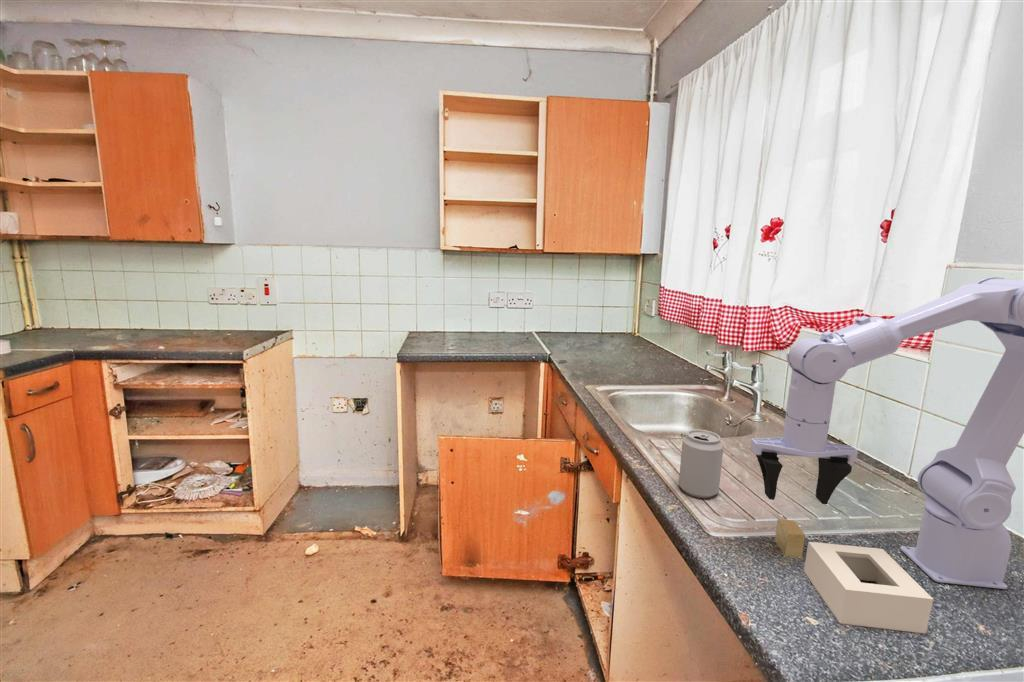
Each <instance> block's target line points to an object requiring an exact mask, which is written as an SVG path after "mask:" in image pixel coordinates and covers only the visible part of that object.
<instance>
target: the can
mask: <svg viewBox="0 0 1024 682" xmlns="http://www.w3.org/2000/svg"><path fill="white" fill-rule="evenodd" d="M721 439H722V438H721V436H720V435H719V434H718V433H716V432H713V431H710V430H705V429H699V428H697V429H696V428H695V429H690V430H688V431H686V435H685V436H684V437H683V438H682V443H681V452H680V453H681V455H680V466H679V473H678V474H679V476H678V485H679V487H680V488H681V489H682V490H683V492H685V494H686V495H689V496H691V497H694V498H699V499H709V498H712V497H713V496H715V495H717V494H718V493H719V491H720V483H721V474H722V464H723V455H724V448H725V447H724V443H722V441H721Z"/></svg>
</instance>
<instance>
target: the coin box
mask: <svg viewBox="0 0 1024 682" xmlns="http://www.w3.org/2000/svg"><path fill="white" fill-rule="evenodd" d="M805 556H806V557H805V562H804V568H803V572H804V574H805V575H806V577H807V578H808V580H809V581H810V583H812V585H813V587H814V588H815V589H816V591H817V593H818V594H819V596H820V597H821V599H822V600H823V601H824V602H825V604H826V606H827V607H828V609H829V610H830V611H831V613H832V614H833V616H834V618H836V620H837V621H838V622H839V624H840V625H841V624H843V625H850V626H861V627H868V628H873V629H874V628H876V629H885V630H894V631H901V632H909V633H917V634H927V631H928V626H929V621H930V615H931V613H932V608H933V602H934V598H933V597H932V596H931V595H930V593H928V592H927V591H926V590H925V589H924V588H923V587H922V586H921V585H920V584H919V583H917V581H916V580H915V579H914V578H913V577H911V575H910V574H909V573H908V572H907V571H906V570H904V569H903V567H902V566H900V564H899V563H898V562H896V561H895V559H894V558H893V557H891V556H890V555H889V554H888V552H886V550H885V549H883V548H876V547H869V546H867V547H866V546H858V545H849V544H848V545H845V544H838V543H837V544H835V543H827V542H826V543H825V542H818V541H816V542H815V541H808V542H807V549H806V555H805ZM861 581H865V582H861ZM866 581H868V582H875V583H868V582H866Z"/></svg>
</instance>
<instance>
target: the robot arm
mask: <svg viewBox="0 0 1024 682" xmlns="http://www.w3.org/2000/svg"><path fill="white" fill-rule="evenodd" d="M854 321H855V323H853V324H851V325H847V326H845V327H843V328H840V329H837V330H835V331H829V330H827V331H824V332H822V333H821V337H820V338H813V337H806V338H802V339H800V340H798V341H797V342H795V343H794V346H792V347H791V348H790V351H789V352H787V353H786V355H785V357H786V362H787V364H788V366H789V368H791V376H790V377H791V378H790V383H789V387H788V394H787V395H788V396H787V402H786V410H785V418H784V424H783V425H784V426H783V432H782V436H781V437H780V436H779V437H766V438H763V437H762V438H755V437H754V438H750V439H751V440H750V446H749V447H750V448H749V450H750V451H751V453H752V454H753V455H755V457H756V459H757V462H758V464H759V468H760V471H761V474H762V480H763V485H764V494H765V495H766V497H767V498H768V500H773V501H775V498H776V495H777V488H778V486H777V485H778V480H779V476H780V474H781V471H782V468H783V467H784V466H783V465H784V464H782V463H781V462H780V461H779V460H780V459H779V457H778V456H779V455H780V456H790V457H803V458H805V457H806V458H816V459H817V460H818V476H817V483H816V488H815V499H817V500H818V501H819V503H821V505H827V504H828V502H829V501H830V500H831V499H830V498H831V496H832V495H833V493H834V491H835V490H836V488H837V487H838V485H839V484H840V483H841V482H842V481H843V480H844V479H845V478H846V477H847V476H848V475H850V474H851V472H852V468H853V466H852V465H851V464H850V463H857V458H858V452H859V450H858V449H856V448H855V447H853V446H852V445H850V444H841V443H835V442H829V441H827V440H828V435H829V430H830V429H829V428H830V424H831V415H832V409H833V402H834V397H835V390H836V383H837V382H838V381H839V380H841V379H842V378H843V377H844V376H845V375H846V373H847V372H848V370H850V369H852V368H854V367H859V366H860V365H863V364H866V363H868V362H869V363H870V362H872V361H875V360H878V359H880V358H883V357H886V356H888V355H889V356H890V355H891V354H894V353H896V352H897V351H898V349H899V347H900V344H901V342H902V341H906V340H909V339H911V338H915V337H918V336H920V335H924V334H927V333H930V332H933V331H936V330H940V329H942V328H946V327H950V326H953V325H957V324H959V323H962V322H966V321H973V322H974V321H975V322H979V323H980V324H981V325H983V326H984V327H987V329H989V330H990V331H991V332H993V333H994V334H995V335H996V337H997V339H998V340H999V341H1000V342H1001V344H1002V345H1003V347H1004V348H1005V351H1004V352H1003V355H1002V357H1001V358H1000V360H999V362H998V365H997V366H996V368H995V370H994V372H993V373H992V375H991V378H990V379H989V381H988V383H987V385H986V387H985V389H984V391H983V392H982V395H981V396H980V398H979V400H978V402H977V403H976V406H975V408H974V410H973V411H972V414H971V416H970V417H969V419H968V421H967V423H966V425H965V427H964V429H963V431H962V433H961V435H960V436H959V439H958V441H957V442H956V445H955V446H953V447H949V448H944V449H941V450H939V451H937V453H936V454H935V457H934V458H932V460H931V462H929V463H928V464H926V465H924V466H923V467H922V468H921V470H920V471H919V473H918V474H917V475H918V476H917V486H918V488H919V489H920V490H921V492H923V494H924V495H923V501H924V507H923V512H922V517H921V522H920V527H919V530H918V536H917V540H916V545H915V546H906V545H905V546H904V545H901V546H900V547H899V548H900V550H901V551H902V553H904V554H905V555H906V556H907V557H908V558H909V560H912V562H914V563H915V565H917V566H918V567H919V568H920V569H921V570H922V571H923V572H924V573H925V574H926V575H927V576H928V577H930V578H931V579H932V580H933V582H936V583H944V584H953V585H964V586H970V587H971V586H973V587H982V588H992V589H1001V590H1007V589H1008V587H1009V586H1008V585H1007V584H1006V583H1005V582H1004V579H1005V575H1006V570H1007V566H1008V564H1009V559H1010V556H1011V552H1012V538H1011V535H1010V532H1009V531H1008V528H1007V527H1006V526H1005V525H1004V523H1005V522H1006V521H1007V520H1008V519H1009V517H1010V515H1011V512H1012V498H1013V495H1014V493H1015V491H1016V489H1017V487H1016V485H1015V482H1014V480H1013V478H1012V476H1011V475H1010V473H1009V471H1008V469H1007V464H1008V462H1009V460H1010V459H1011V457H1012V456H1013V453H1014V452H1015V450H1016V448H1017V446H1018V444H1019V442H1020V441H1021V439H1022V437H1023V435H1024V279H1015V278H1014V279H1011V278H1004V277H997V276H990V277H985V278H983V279H980V280H978V281H976V282H971V283H967V284H963V285H961V286H959V288H957V289H955V290H954V291H952V292H950V293H947V294H946V295H943V296H940V297H938V298H936V299H933V300H931V301H928V302H927V303H923V304H921V305H919V306H918V307H915V308H913V309H910V310H908V311H905V312H903V313H900V314H898V315H896V316H894V317H892V318H890V319H889V318H888V319H886V318H883V317H880V316H871V317H870V316H866V315H862V316H859V317H856V318H855V319H854Z"/></svg>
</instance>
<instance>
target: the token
mask: <svg viewBox="0 0 1024 682" xmlns="http://www.w3.org/2000/svg"><path fill="white" fill-rule="evenodd" d="M774 536H775V537H774V542H775V543H776V544H777V546H778V548H779V549H780V551H781V553H782V554H783V555H784V557H792V558H803V554H804V549H805V548H804V547H805V540H806V534H805V533H804V532H803V529H801V527H800V526H799V525H798V524H797V522H796V521H795V520H792V519H781V518H778V519H777V521H776V529H775V535H774Z"/></svg>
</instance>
